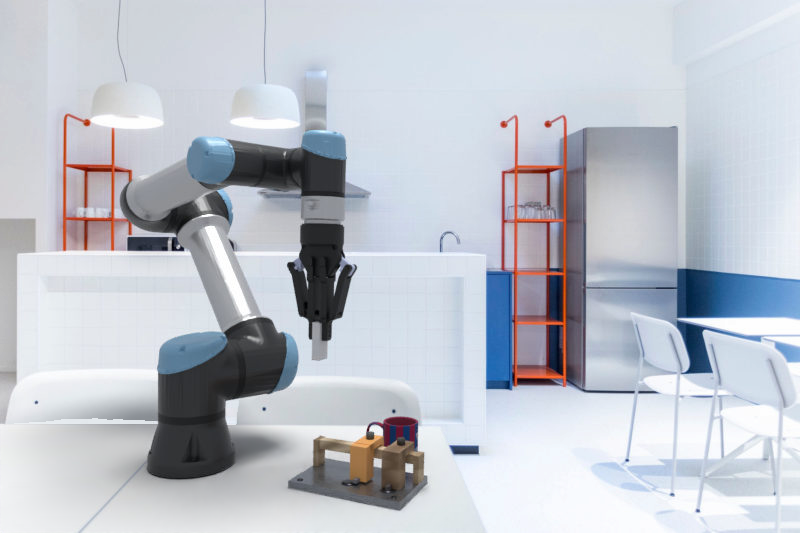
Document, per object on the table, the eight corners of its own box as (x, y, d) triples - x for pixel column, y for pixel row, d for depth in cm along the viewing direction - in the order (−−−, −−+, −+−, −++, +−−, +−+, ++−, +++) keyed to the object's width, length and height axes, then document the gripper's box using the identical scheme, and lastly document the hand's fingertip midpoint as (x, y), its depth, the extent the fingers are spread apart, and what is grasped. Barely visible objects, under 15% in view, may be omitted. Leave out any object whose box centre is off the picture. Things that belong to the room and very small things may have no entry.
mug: (412, 464, 112) (413, 427, 112) (361, 458, 115) (362, 422, 114) (421, 452, 118) (421, 418, 118) (372, 447, 121) (373, 413, 121)
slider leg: (346, 481, 99) (347, 440, 99) (367, 466, 106) (368, 427, 106) (363, 484, 98) (363, 443, 97) (383, 468, 105) (384, 430, 105)
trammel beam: (298, 474, 102) (298, 434, 102) (321, 460, 110) (321, 422, 109) (407, 495, 95) (408, 451, 94) (424, 478, 102) (425, 437, 101)
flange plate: (288, 487, 100) (288, 480, 100) (324, 464, 111) (325, 457, 111) (399, 510, 92) (399, 501, 92) (427, 482, 103) (427, 475, 103)
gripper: (278, 221, 103) (275, 358, 104) (344, 222, 98) (341, 367, 99) (302, 223, 110) (299, 352, 111) (366, 224, 105) (362, 359, 105)
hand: (319, 359), depth 105 cm, fingers closed
